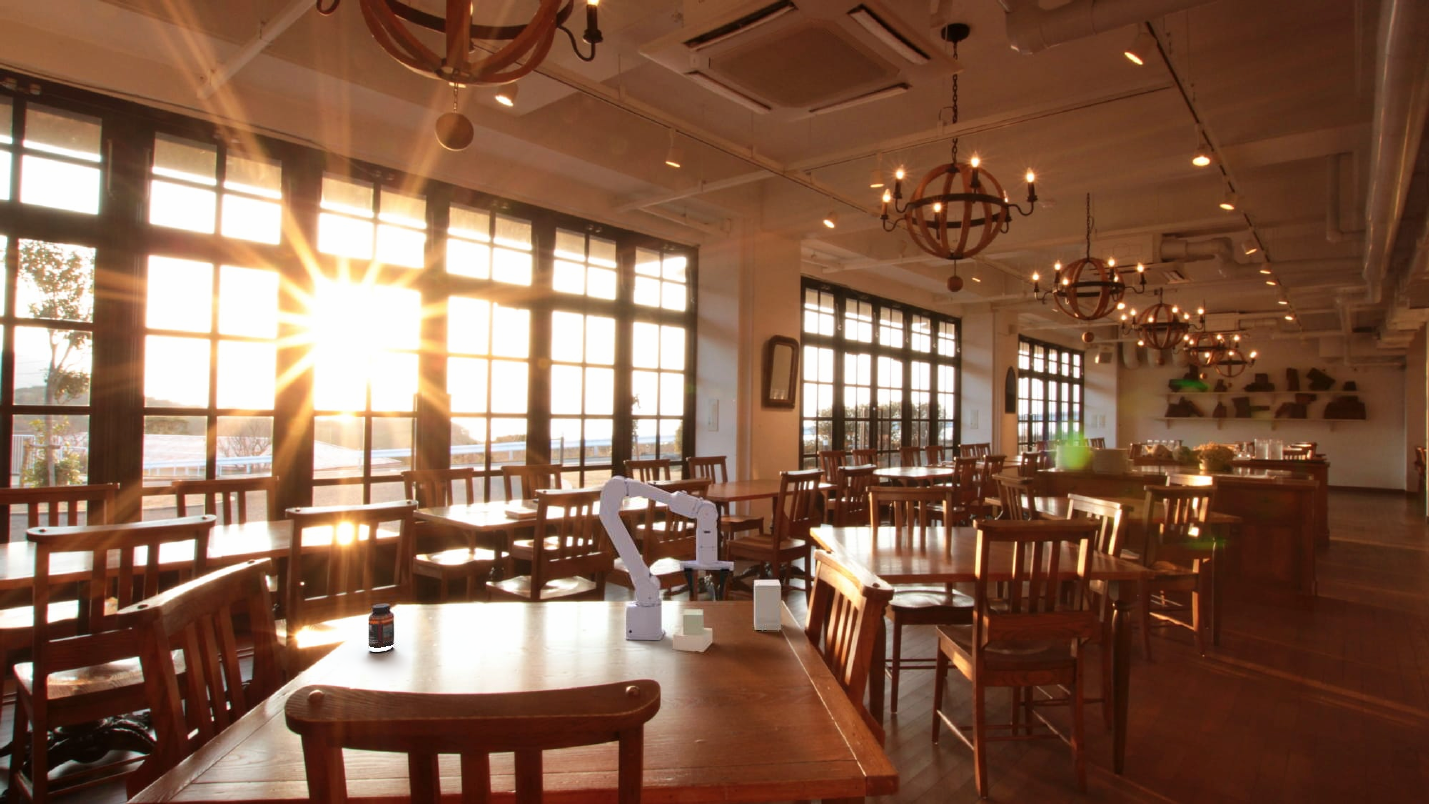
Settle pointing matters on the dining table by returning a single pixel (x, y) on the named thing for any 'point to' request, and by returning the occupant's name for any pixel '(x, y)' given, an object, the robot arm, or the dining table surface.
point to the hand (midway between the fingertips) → (706, 596)
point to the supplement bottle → (381, 626)
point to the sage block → (693, 622)
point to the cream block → (692, 640)
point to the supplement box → (767, 605)
